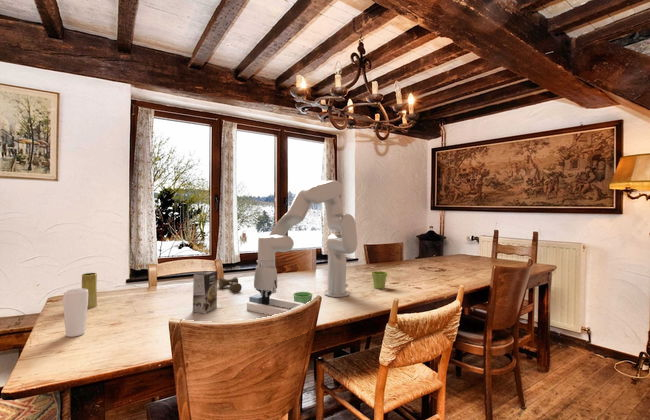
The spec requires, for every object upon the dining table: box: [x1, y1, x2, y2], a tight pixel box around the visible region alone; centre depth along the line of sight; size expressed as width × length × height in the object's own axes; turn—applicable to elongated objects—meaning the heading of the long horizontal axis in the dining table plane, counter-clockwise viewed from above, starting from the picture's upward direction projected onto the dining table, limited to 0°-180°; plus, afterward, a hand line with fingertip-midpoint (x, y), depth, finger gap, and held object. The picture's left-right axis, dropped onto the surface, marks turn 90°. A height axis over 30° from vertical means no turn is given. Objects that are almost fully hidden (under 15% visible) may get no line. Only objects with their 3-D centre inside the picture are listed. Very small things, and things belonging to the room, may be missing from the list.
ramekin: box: [292, 291, 313, 304], centre depth 153 cm, size 9×9×4 cm
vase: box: [81, 272, 98, 309], centre depth 142 cm, size 6×6×14 cm
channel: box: [246, 296, 305, 316], centre depth 142 cm, size 13×22×3 cm, turn 61°
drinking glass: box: [62, 287, 88, 338], centre depth 112 cm, size 7×7×15 cm
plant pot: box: [370, 270, 389, 290], centre depth 186 cm, size 9×9×9 cm
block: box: [248, 293, 262, 304], centre depth 147 cm, size 5×5×4 cm
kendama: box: [218, 276, 243, 294], centre depth 178 cm, size 6×10×20 cm
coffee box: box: [192, 270, 218, 314], centre depth 141 cm, size 9×6×16 cm
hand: (265, 304), depth 145 cm, fingers closed
